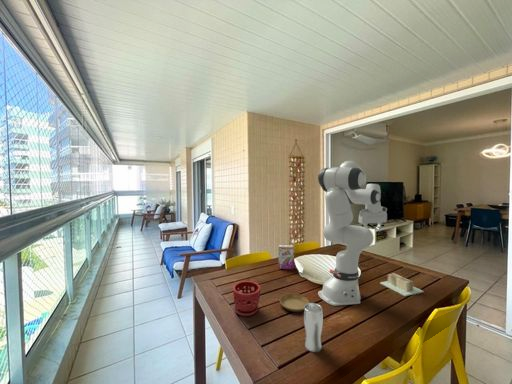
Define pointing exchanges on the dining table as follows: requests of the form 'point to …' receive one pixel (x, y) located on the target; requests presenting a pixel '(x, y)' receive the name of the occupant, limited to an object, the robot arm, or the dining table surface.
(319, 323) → the beer glass
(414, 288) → the sage mat
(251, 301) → the plant pot
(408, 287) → the maple block
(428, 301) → the dining table surface
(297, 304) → the plant saucer
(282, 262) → the candy bar box
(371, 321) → the dining table surface
